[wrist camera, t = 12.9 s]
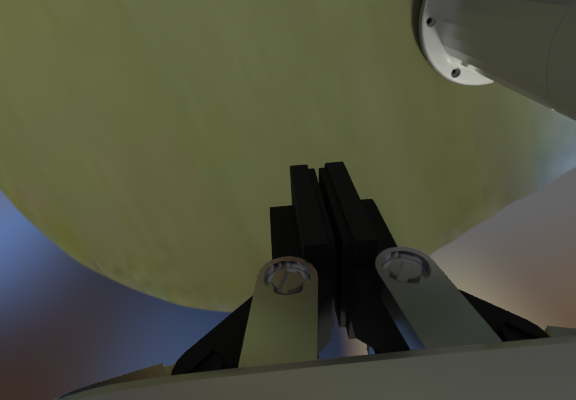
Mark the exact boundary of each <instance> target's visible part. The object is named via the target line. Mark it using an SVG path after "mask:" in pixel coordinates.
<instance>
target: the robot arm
mask: <svg viewBox="0 0 576 400" xmlns="http://www.w3.org/2000/svg"><path fill="white" fill-rule="evenodd" d="M428 18H430V22H429V23H428V24H426V21H427V19H428ZM418 27H419V40H420V44H421V48H422V51H423V53H424V55H425V57H426V59H427V61H428V63H429V64H430V65H431V66H432V68H433V69H434V70H435V71H436V72H437V73H439V74H440V75H442V76H443V77H444V78H446V79H448V80H450V81H452V82H455V83H458V84H462V85H471V86H478V85H485V84H490V83H493V82H496V83H498V84H501V85H503V86H505V87H507V88H509V89H511V90H513V91H515V92H517V93H519V94H521V95H523V96H525V97H527V98H529V99H531V100H534V101H536V102H538V103H540V104H542V105H544V106H546V107H548V108H550V109H552V110H554V111H557V112H558V113H560V114H563V115H565V116H567V117H569V118H571V119H573V120H575V121H576V0H423V1H422V5H421V9H420V15H419V24H418ZM453 70H454V72H453V73H452V71H453ZM290 177H291V195H292V205H291V206H279V207H270V223H271V243H272V260H271V261H270V262H268V263H266V264H265V265H264V266H263V267H262V268H261V269H260V271H259V273H258V276H257V280H256V284H255V289H254V294H253V296H252V297H251V298H249V299H248V300H247V301H246V302H245V303H243V304H242V305H241V306H240V307H239V308H237V309H236V310H235V311H234V312H233V313H231V314H230V315H229V316H228V317H227V318H225V319H224V320H223V321H222V322H221V323H219V324H218V325H217V326H216V327H215V328H214V329H212V330H211V331H210V332H209V333H208V334H206V335H205V336H204V337H203V338H202V339H200V340H199V341H198V342H197V343H196V344H195V345H193V346H192V347H191V348H190V349H188V350H187V351H186V352H185V353H184V354H183V355H182V356H181V357H180V358H179V359H178V360H177V362H176V364H174V365H171V366H167V367H164V365H163V363H160V364H157V365H154V366H150V367H147V368H144V369H140V370H137V371H134V372H131V373H128V374H124V375H121V376H117V377H115V378H111V379H108V380H104V381H101V382H98V383H94V384H91V385H88V386H85V387H81V388H78V389H75V390H72V391H71V392H68V393H66V394H64V395H62V396H60V397H59V398H58V399H56V400H576V329H575V328H564V327H554V326H547V327H546V329H545V331H543V330H542V329H541V328H540V327H539V326H537V325H535V324H534V323H532V322H530V321H528V320H526V319H524V318H522V317H520V316H517V315H515V314H513V313H510V312H508V311H506V310H504V309H502V308H499V307H497V306H495V305H492V304H491V303H488V302H486V301H484V300H482V299H479V298H477V297H474V296H473V295H470V294H468V293H466V292H464V291H461V290H459V289H457V287H456V286H455V285H454V284H453V283H452V282H451V280H450V279H448V277H447V276H446V275H445V273H444V272H443V271H442V270H441V269H440V268H439V266H438V265H437V264H436V263H435V262H434V261H433V260H432V259H431V258H430V257H429V256H428V255H427V254H425V253H423V252H421V251H419V250H416V249H413V248H408V247H397V245H396V243H395V241H394V239H393V237H392V235H391V233H390V231H389V229H388V227H387V225H386V224H385V222H384V220H383V218H382V216H381V214H380V212H379V210H378V208H377V206H376V204H375V202H374V201H373V199H363V200H360V198H359V195H358V193H357V191H356V189H355V187H354V185H353V182H352V180H351V178H350V176H349V174H348V171H347V169H346V167H345V165H344V163H343V162H332V163H325V168H319V183H318V179H317V176H316V173H315V169H314V168H313V169H308V165H294V166H290ZM335 311H336V315H337V320H338V324H339V327H346V329H347V333H348V337H349V339H354V338H357V339H359V340H360V341H362V342H364V343H365V344H367V352H368V355H361V356H351V357H340V358H330V359H320V360H319V353H320V352H321V351H322V350H323V348H324V347H325V346H326V345H327V344H328V343H329V341H330V340H331V328H334V312H335Z"/></svg>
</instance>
